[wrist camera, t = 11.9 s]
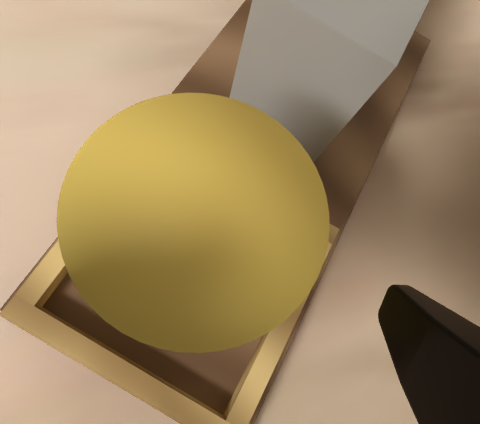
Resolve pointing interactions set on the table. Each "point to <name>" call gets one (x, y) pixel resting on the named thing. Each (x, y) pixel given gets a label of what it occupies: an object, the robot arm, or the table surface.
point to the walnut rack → (229, 360)
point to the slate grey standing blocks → (320, 60)
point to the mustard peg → (193, 222)
